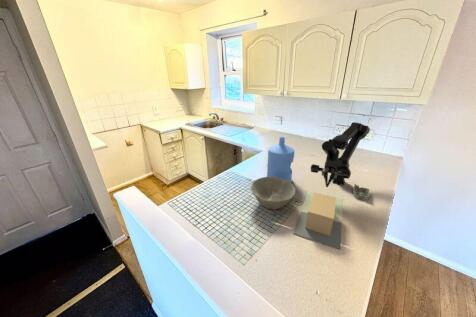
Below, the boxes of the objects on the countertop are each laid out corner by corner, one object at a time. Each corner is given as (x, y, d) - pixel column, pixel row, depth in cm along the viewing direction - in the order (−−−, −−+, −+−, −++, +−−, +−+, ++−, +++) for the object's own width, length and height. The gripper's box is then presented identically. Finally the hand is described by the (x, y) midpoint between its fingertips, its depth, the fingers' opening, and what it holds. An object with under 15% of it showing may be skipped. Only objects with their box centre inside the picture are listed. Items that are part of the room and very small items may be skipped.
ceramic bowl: (286, 190, 113) (288, 175, 109) (299, 217, 92) (302, 200, 88) (248, 192, 112) (248, 176, 108) (253, 219, 91) (253, 201, 87)
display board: (307, 191, 112) (308, 191, 111) (342, 199, 104) (343, 199, 104) (293, 233, 83) (293, 233, 82) (340, 249, 75) (340, 249, 75)
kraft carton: (311, 207, 98) (313, 192, 94) (332, 213, 94) (336, 197, 90) (305, 227, 85) (307, 211, 81) (329, 235, 81) (333, 218, 77)
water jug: (272, 187, 116) (275, 143, 105) (262, 175, 130) (264, 135, 118) (296, 183, 120) (301, 140, 108) (284, 172, 133) (287, 133, 122)
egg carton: (352, 189, 114) (354, 183, 112) (367, 192, 110) (369, 186, 108) (351, 198, 105) (353, 192, 104) (368, 202, 102) (370, 196, 100)
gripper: (313, 150, 101) (307, 178, 96) (354, 156, 93) (350, 187, 88) (313, 158, 110) (308, 184, 106) (351, 164, 102) (346, 192, 98)
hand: (326, 186), depth 99 cm, fingers closed
